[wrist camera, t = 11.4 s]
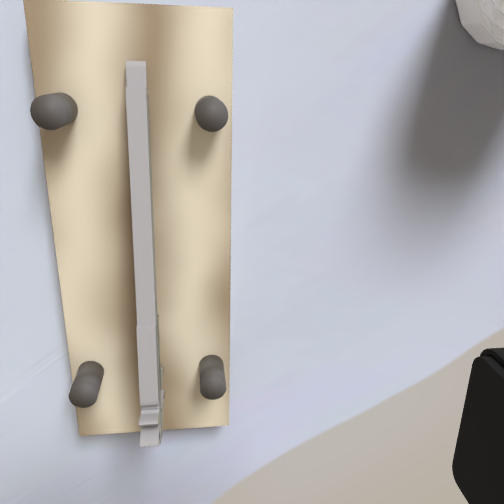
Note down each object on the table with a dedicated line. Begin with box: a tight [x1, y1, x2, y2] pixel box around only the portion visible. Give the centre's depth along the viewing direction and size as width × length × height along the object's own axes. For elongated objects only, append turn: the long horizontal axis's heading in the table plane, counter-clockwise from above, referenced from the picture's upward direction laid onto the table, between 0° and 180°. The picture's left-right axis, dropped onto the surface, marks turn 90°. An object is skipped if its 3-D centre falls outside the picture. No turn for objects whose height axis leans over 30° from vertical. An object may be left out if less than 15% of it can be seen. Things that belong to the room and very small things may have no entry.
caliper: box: [126, 61, 165, 447], centre depth 25 cm, size 20×1×6 cm, turn 179°
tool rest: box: [23, 0, 233, 436], centre depth 27 cm, size 10×26×4 cm, turn 179°
